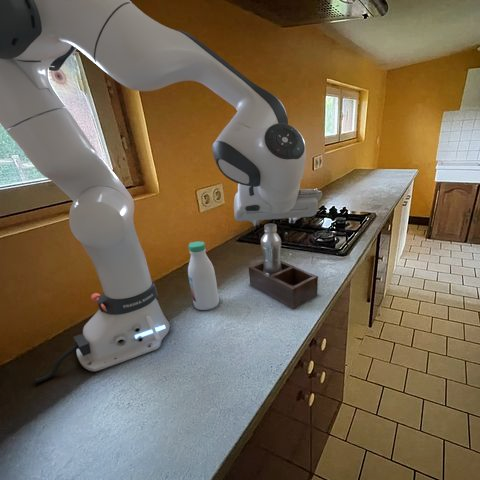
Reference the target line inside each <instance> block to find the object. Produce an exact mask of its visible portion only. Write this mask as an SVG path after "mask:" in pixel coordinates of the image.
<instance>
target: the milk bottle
mask: <svg viewBox="0 0 480 480" xmlns="http://www.w3.org/2000/svg"><path fill="white" fill-rule="evenodd" d="M187 247H188V252H189V254H190V258H189V262H188V266H187V275H188V277H187V278H188V281H189V288H190V292H191V298H192V304H193V306H194V308H195V309H197V310H200V311H209V310H212V309H214V308H216V307H217V306H218V304H219V302H220V299H219V297H220V296H219V291H218V285H217V284H218V283H217V278H216V272H215V268H214V265H213V263H212V261H211V260H210V259H209V257H208V255H207V253H206V251H207V249H206V244H205V242H204V241H200V240H198V241H192V242H189V244H188V245H187Z"/></svg>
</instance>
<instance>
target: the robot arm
mask: <svg viewBox="0 0 480 480" xmlns="http://www.w3.org/2000/svg"><path fill="white" fill-rule="evenodd" d="M77 50H79V51H80V52H81V53H82V54H83V55H85V56H86V57H87V58H88V59H89V60H90V61H92V62H93V63H94V64H96V66H98V67H99V68H100V69H101V70H102V71H103V72H104V73H106V74H107V75H108V76H110V77H111V78H112V79H113V80H115V81H116V82H117V83H119V84H120V85H122V86H124V87H125V88H126V89H128V90H129V89H130V90H132V91H137V92H152V91H157V90H160V89H163V88H165V87H168V86H170V85H173V84H176V83H180V82H188V81H190V82H196V83H200V84H202V85H203V86H205V87H206V88H208V89H209V90H211V91H212V92H213V93H214V94H216V96H218V97H220V98H221V99H222V100H224V101H225V102H227V103H228V104H230V105H231V106H233V108H235V110H236V113H235V114H234V115H233V117H232V118H231V119H230V121H229V122H228V123H227V124H226V125H225V126H224V128H223V129H222V131H221V132H220V133H219V134H218V136H217V137H216V138H215V140H214V142H213V143H212V145H211V146H212V147H211V151H212V156H213V159H214V161H215V164H216V166H217V168H218V170H219V171H220V172H221V174H222V175H223V176H224V177H226V178H227V179H229V180H230V181H232V182H233V183H235V184H237V192H235V195H234V198H233V214H234V215H233V216H234V221H236V222H241V223H242V222H250V223H252V224H253V227H258V226H260V221H268V220H281V219H288V223H289V224H295V223H296V221H297V220H300V219H301V218H309V217H311V218H312V217H314V216H316V215H317V213H318V210H319V201H321V199H322V197H323V192H322V191H321V190H318V188H301V181H302V180H303V176H304V173H305V167H306V160H307V159H306V157H307V148H306V143H305V140H304V138H303V135H302V134H301V132H300V131H299V130H298V129H297V128H295V126H292V125H290V124H289V118H288V115H287V110H286V108H285V105H284V104H283V103H282V101H281V100H280V99H279V98H278V97H277V96H276V95H275V94H273V93H272V92H271V91H268V90H266V89H264V88H262V87H261V86H260V85H257V84H256V83H254V82H253V81H252V80H250V79H249V78H248V77H247V76H245V74H243V73H241V72H240V71H239V70H237V69H236V68H235V67H234V66H232V64H230V63H229V62H228V61H226V59H224V58H223V57H221V56H220V55H219V54H218V53H216V52H215V51H214V50H212V49H211V48H210V47H209V46H208V45H206V44H204V43H203V42H202V41H201V40H199V39H198V38H196V37H195V36H194V35H192V34H190V33H189V32H186V31H185V30H179V29H173V28H170V27H167V26H166V25H164V24H161V23H160V22H159V21H157V20H155V19H153V18H152V17H150V16H149V15H147V14H146V13H144V12H143V11H142V10H141V9H139V8H138V7H137V6H136V4H134V3H133V2H132V1H131V0H0V125H1V126H2V128H3V130H5V132H7V134H8V136H10V138H11V139H12V140H13V141H14V143H15V144H16V145H17V147H18V148H19V149H20V150H21V151H22V153H23V154H24V156H26V158H27V159H28V160H29V161H30V163H31V164H32V165H33V167H34V168H35V169H36V170H37V172H39V174H41V175H42V176H43V177H45V178H47V179H49V180H50V181H51V182H52V183H53V184H54V185H55V186H56V187H57V188H58V189H60V190H61V192H63V193H64V194H66V195H67V197H69V199H70V200H71V201H72V204H71V205H70V208H69V212H68V213H69V214H68V221H69V222H68V223H69V229H70V231H71V233H72V235H73V236H74V237H75V239H76V240H78V242H80V244H81V246H82V247H83V249H84V251H85V252H86V254H87V255H88V257H89V259H90V261H91V263H92V265H93V267H94V269H95V272H96V275H97V278H98V280H99V282H100V286H101V288H102V291H103V292H102V293H101V294H100V293H98V292H94V293H93V294H91V296H90V299H91V300H92V302H93V303H95V304H97V306H98V310H97V311H96V312H95V314H93V316H92V317H91V318H90V319H89V320H88V321H87V322H86V323H85V324H84V326H83V328H82V333H79V334H78V335H75V336H73V340H74V342H75V343H74V344H75V345H74V346H72V347H71V348H69V349H68V350H66V351H65V352H64V353H63V354H62V355H61V356H60V357H59V358H58V359H57V360H56V361H55V363H54V365H53V367H52V369H51V370H50V372H48V373H47V374H46V375H43V376H40V377H38V378H36V379H34V381H35V383H36V384H39V383H42V382H44V381H47V380H49V379H50V378H51V377H53V376H54V375H55V374H56V373H57V371H58V369H59V368H60V365H61V364H62V363H63V361H64V360H65V359H66V358H68V357H69V356H70V355H72V354H73V353H74V352H75V351H76V356H77V360H78V362H79V364H80V366H82V367H83V368H84V369H86V370H87V371H90V372H98V371H102V370H105V369H108V368H109V367H112V366H115V365H118V364H121V363H123V362H126V361H129V360H132V359H134V358H137V357H140V356H143V355H145V354H147V353H151V352H153V351H156V350H158V349H160V347H161V344H162V342H163V339H165V337H166V336H167V335H168V333H169V331H170V328H171V326H170V322H169V321H168V319H167V318H166V316H165V315H164V312H163V311H162V308H161V306H160V304H159V294H158V291H157V287H156V285H155V282H154V281H153V280H152V278H151V272H150V270H149V265H148V263H147V258H146V254H145V252H144V250H143V248H142V245H141V242H140V240H139V237H138V233H137V231H136V226H135V223H134V214H135V209H136V208H135V201H134V198H133V197H132V195H131V193H130V192H129V190H128V189H127V188H126V187H125V185H124V184H123V182H122V181H121V180H120V179H119V177H118V176H117V175H116V174H115V172H114V171H113V169H112V168H111V166H109V165H108V163H107V162H106V161H105V160H104V159H103V158H102V156H101V155H100V153H99V152H98V151H97V149H95V147H94V146H93V145H92V143H91V141H90V140H89V139H88V137H87V136H86V134H85V132H84V131H83V129H82V128H81V127H80V125H79V123H78V122H77V120H76V119H75V118H74V116H73V114H72V113H71V112H70V111H69V109H68V108H67V106H66V104H65V103H64V102H63V100H62V99H61V98H60V96H59V95H58V93H57V91H56V90H55V88H54V86H53V85H52V82H51V81H50V75H49V72H50V71H52V72H58V71H59V70H61V68H62V66H63V65H64V64H65V62H66V61H67V60H68V59H69V58H70V57H71V56H72V55H74V53H75V52H76V51H77Z"/></svg>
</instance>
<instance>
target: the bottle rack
mask: <svg viewBox="0 0 480 480" xmlns="http://www.w3.org/2000/svg"><path fill="white" fill-rule="evenodd" d="M280 263H281V269H282V271H280V272H277V273H275V274H273V275H268V274H266V273H264V272H263V270H264V260H263V261H260V262H258V263H256V264H254V265H251V266H248V274H249V275H248V276H249V286H250V287H252V288H254V289H255V290H257V291H259V292H261V293H263V294H264V295H267V296H268V297H270V298H272V299H273V300H275V301H276V302H279V303H281V304H282V305H284V306H286V307H288V308H290V309H291V310H295V309H297V308H298V307H300V306H302V305H304V304H306V303H307V302H309V301H311V300H312V299H315V297H317V296H318V291H319V290H318V285H319V276H318V275H316V274H313V273H311V272H309V271H306V270H305V269H302V268H300V267H297V266H294V265H293V264H290V263H287V262H285V261H283V260H281V259H280Z"/></svg>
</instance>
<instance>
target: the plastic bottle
mask: <svg viewBox="0 0 480 480" xmlns="http://www.w3.org/2000/svg"><path fill="white" fill-rule="evenodd" d="M277 230H278V229H277V224H276V223H266V224H264V227H263V231H264V234H263V235H262V236H261V238H260V247H261V252H262V257H263V259H262V260H263V261H264V270H263V272H264V273H266V274H268V275H273V274H275V273H277V272H280V271H282V269H281V263H280V260H281V251H282V250H281V249H282V239H281V237H280V235H279V234H278V233H277Z"/></svg>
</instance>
